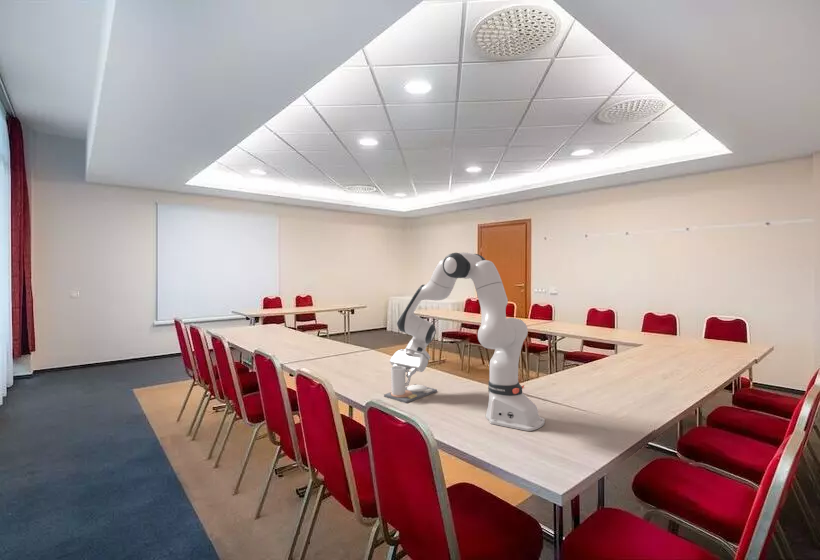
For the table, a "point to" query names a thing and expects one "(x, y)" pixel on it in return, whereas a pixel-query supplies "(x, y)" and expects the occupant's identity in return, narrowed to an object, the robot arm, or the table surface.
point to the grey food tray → (412, 393)
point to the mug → (398, 380)
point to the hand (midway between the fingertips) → (400, 375)
